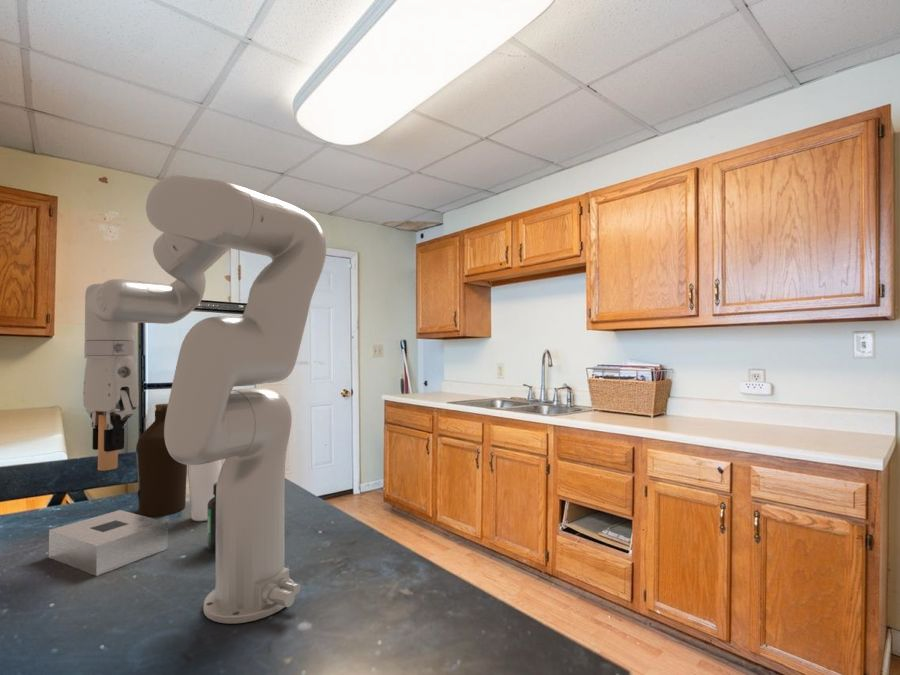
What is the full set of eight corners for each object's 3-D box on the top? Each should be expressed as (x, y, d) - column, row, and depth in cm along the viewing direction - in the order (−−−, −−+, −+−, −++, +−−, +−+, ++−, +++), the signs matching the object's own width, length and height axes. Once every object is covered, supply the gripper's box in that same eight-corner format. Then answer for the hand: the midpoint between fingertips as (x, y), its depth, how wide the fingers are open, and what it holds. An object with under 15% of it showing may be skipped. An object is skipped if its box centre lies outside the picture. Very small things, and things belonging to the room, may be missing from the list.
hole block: (167, 548, 89) (167, 522, 90) (96, 576, 79) (96, 545, 79) (119, 534, 97) (119, 509, 97) (48, 557, 86) (49, 530, 86)
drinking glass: (227, 516, 107) (227, 449, 107) (198, 525, 101) (198, 455, 102) (210, 510, 111) (210, 446, 111) (181, 519, 105) (181, 452, 105)
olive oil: (194, 501, 118) (195, 401, 118) (178, 516, 107) (178, 406, 108) (148, 504, 116) (148, 402, 116) (126, 519, 105) (127, 407, 106)
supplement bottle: (202, 555, 87) (202, 489, 87) (213, 540, 93) (213, 479, 94) (242, 551, 88) (242, 486, 88) (249, 537, 95) (249, 477, 95)
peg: (121, 467, 88) (121, 413, 88) (103, 471, 86) (104, 416, 86) (112, 465, 90) (112, 413, 90) (94, 469, 87) (95, 415, 87)
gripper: (156, 350, 88) (155, 449, 87) (107, 350, 95) (105, 441, 95) (112, 350, 81) (111, 458, 81) (63, 350, 88) (61, 449, 88)
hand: (108, 448), depth 88 cm, fingers closed on peg, 3 cm apart
